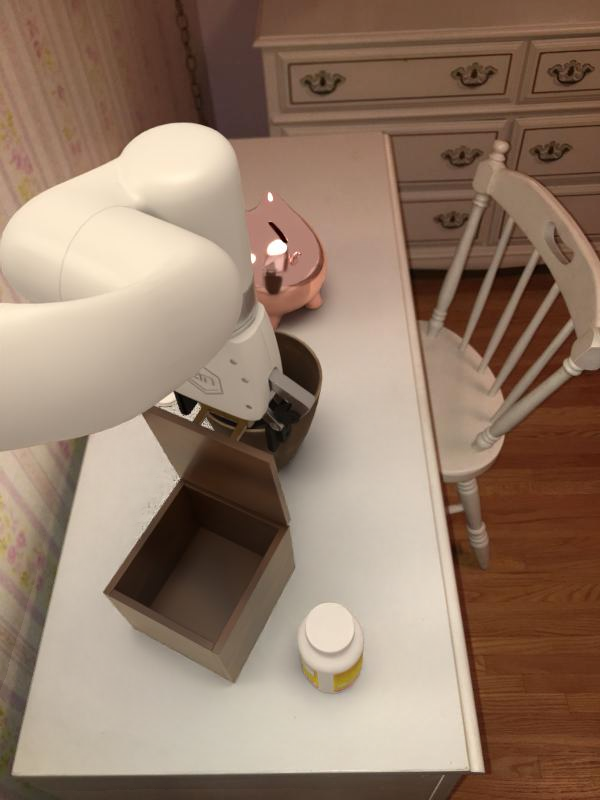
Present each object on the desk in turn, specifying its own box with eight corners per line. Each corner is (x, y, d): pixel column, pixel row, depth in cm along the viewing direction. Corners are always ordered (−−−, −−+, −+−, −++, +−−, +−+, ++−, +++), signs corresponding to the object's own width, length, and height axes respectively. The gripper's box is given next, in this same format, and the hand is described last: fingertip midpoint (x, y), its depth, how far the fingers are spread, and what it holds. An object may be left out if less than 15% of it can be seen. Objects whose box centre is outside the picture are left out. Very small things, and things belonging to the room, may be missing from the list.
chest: (234, 683, 70) (218, 655, 60) (132, 627, 74) (102, 592, 64) (295, 567, 77) (289, 525, 68) (199, 521, 81) (181, 476, 72)
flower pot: (338, 419, 89) (339, 344, 76) (302, 512, 81) (296, 446, 68) (239, 393, 93) (224, 316, 80) (195, 479, 85) (170, 410, 72)
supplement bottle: (367, 639, 72) (372, 601, 62) (354, 701, 68) (357, 672, 58) (309, 624, 73) (305, 584, 63) (293, 684, 70) (286, 652, 59)
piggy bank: (286, 246, 111) (279, 164, 98) (346, 308, 102) (347, 227, 89) (207, 282, 106) (189, 202, 94) (262, 350, 97) (251, 272, 84)
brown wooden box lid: (269, 463, 54) (297, 412, 56) (136, 406, 58) (168, 362, 60) (287, 526, 67) (310, 483, 69) (179, 477, 71) (203, 438, 73)
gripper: (84, 293, 49) (139, 419, 63) (284, 367, 44) (297, 487, 58) (141, 233, 53) (181, 365, 67) (332, 296, 48) (332, 424, 62)
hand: (235, 421), depth 62 cm, fingers open, 9 cm apart
